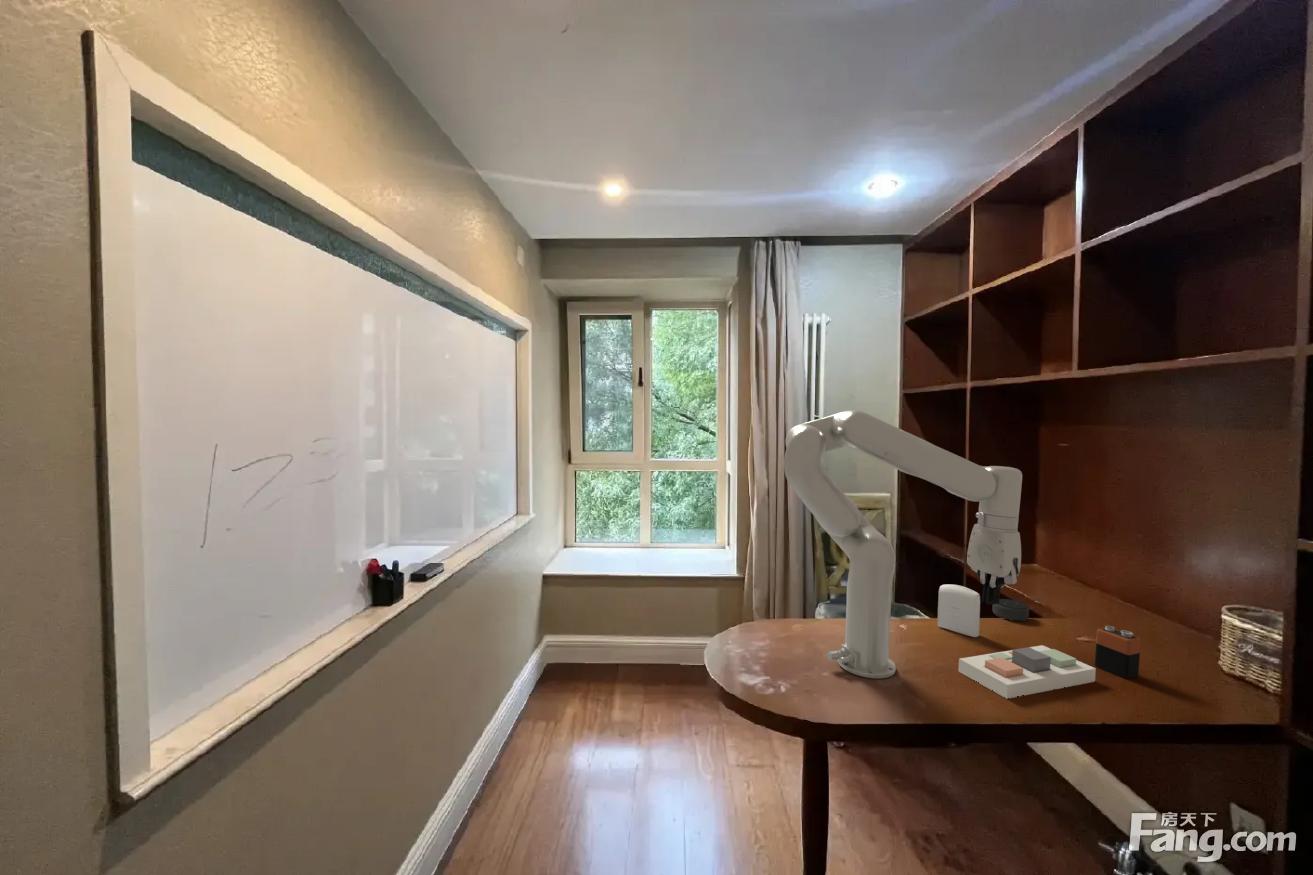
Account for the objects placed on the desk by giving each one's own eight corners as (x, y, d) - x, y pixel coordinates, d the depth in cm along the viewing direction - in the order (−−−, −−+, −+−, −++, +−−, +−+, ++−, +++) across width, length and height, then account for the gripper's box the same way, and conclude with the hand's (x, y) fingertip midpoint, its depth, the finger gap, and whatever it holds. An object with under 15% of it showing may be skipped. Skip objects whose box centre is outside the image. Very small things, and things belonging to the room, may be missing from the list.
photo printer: (934, 626, 148) (936, 582, 147) (941, 622, 150) (943, 579, 150) (975, 639, 140) (977, 593, 139) (981, 635, 142) (983, 589, 142)
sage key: (1059, 675, 119) (1060, 661, 118) (1037, 664, 123) (1038, 651, 123) (1075, 672, 120) (1076, 658, 120) (1053, 662, 125) (1053, 648, 125)
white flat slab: (1006, 698, 111) (1007, 683, 111) (958, 671, 122) (959, 657, 122) (1094, 681, 119) (1095, 667, 118) (1041, 657, 130) (1042, 644, 130)
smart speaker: (1036, 622, 152) (1037, 609, 152) (1006, 623, 151) (1007, 609, 151) (1013, 610, 161) (1014, 597, 161) (985, 611, 160) (986, 598, 160)
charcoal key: (1033, 674, 116) (1033, 659, 116) (1011, 663, 121) (1012, 649, 121) (1049, 671, 118) (1050, 657, 118) (1028, 660, 122) (1028, 647, 122)
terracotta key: (1005, 685, 114) (1005, 671, 114) (984, 674, 119) (985, 660, 118) (1022, 682, 115) (1023, 668, 115) (1001, 671, 120) (1002, 657, 120)
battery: (1127, 680, 120) (1129, 636, 119) (1093, 666, 126) (1096, 624, 125) (1139, 677, 121) (1142, 634, 121) (1105, 663, 127) (1108, 622, 127)
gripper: (956, 515, 124) (950, 591, 125) (1015, 530, 110) (1007, 617, 111) (982, 514, 126) (975, 590, 127) (1043, 529, 112) (1034, 614, 113)
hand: (990, 602), depth 119 cm, fingers closed
